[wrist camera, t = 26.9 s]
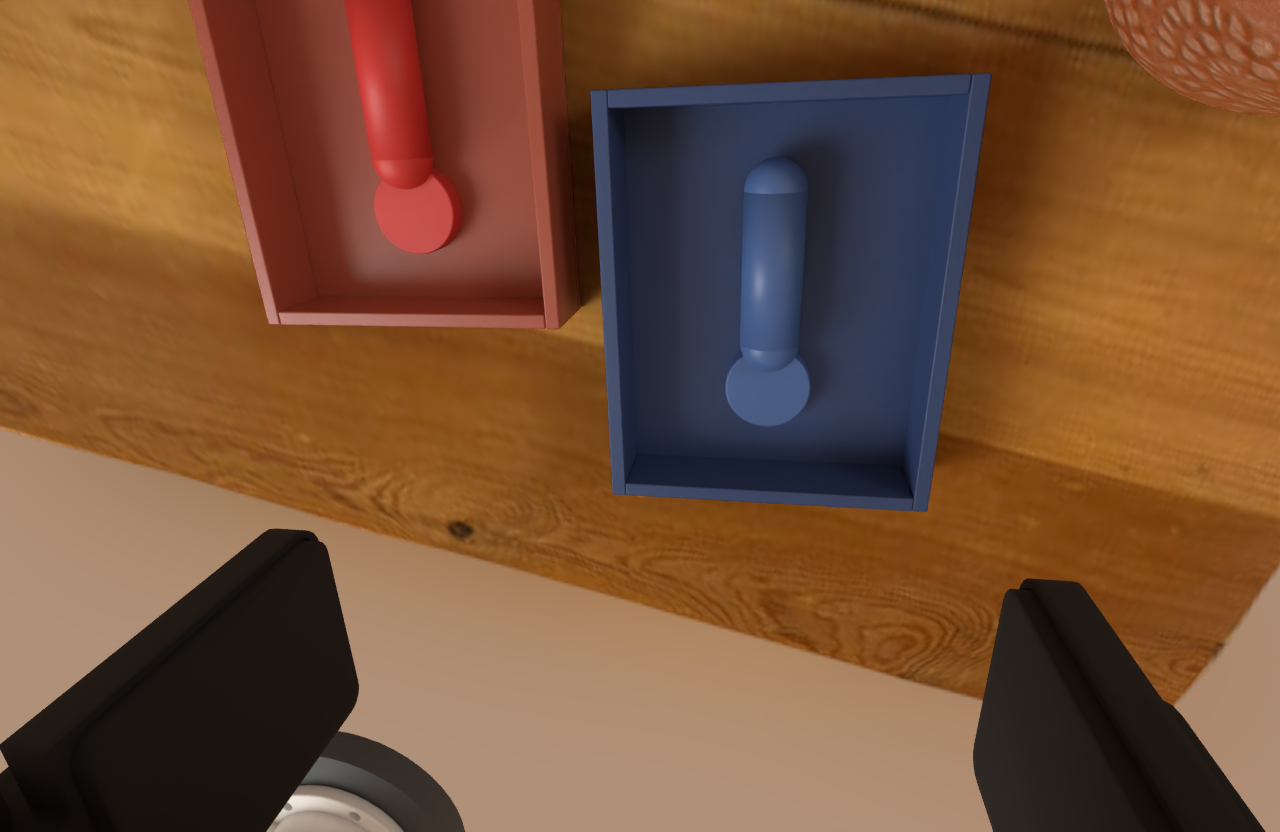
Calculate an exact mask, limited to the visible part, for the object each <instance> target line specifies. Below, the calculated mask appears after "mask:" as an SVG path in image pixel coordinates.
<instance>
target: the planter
mask: <svg viewBox="0 0 1280 832" xmlns="http://www.w3.org/2000/svg"><path fill="white" fill-rule="evenodd" d="M1104 4H1105V7H1106V10H1107V13H1108V16H1109V18H1110V21H1111V23H1112V25H1113V28H1114V30H1115V32H1116V33H1117V35H1118V37H1119V39H1120V40H1121V42H1122V43H1123V45H1124V46H1125V48H1126V49H1127V51H1128V52H1129V53H1130V55H1131V56H1132V57H1133V58H1134V59H1135V61H1136V62H1137V63H1138V64H1139V65H1140V66H1141V67H1142V68H1143V69H1144V70H1145V71H1146V72H1147V73H1148V74H1150V75H1151V76H1152V77H1153V78H1155V79H1156V80H1157V81H1159V82H1160V83H1162V84H1163V85H1165V86H1166V87H1168V88H1170V89H1171V90H1173V91H1175V92H1177V93H1178V94H1180V95H1183V96H1185V97H1187V98H1189V99H1191V100H1194V101H1196V102H1199V103H1202V104H1205V105H1209V106H1213V107H1217V108H1221V109H1225V110H1230V111H1234V112H1239V113H1244V114H1250V115H1256V116H1267V117H1280V0H1104Z"/></svg>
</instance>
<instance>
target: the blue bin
mask: <svg viewBox="0 0 1280 832" xmlns="http://www.w3.org/2000/svg"><path fill="white" fill-rule="evenodd" d="M991 77H992V74H991V73H990V72H989V73H973V74H970V73H967V74H944V75H922V76H900V77H877V78H855V79H832V80H810V81H787V82H765V83H743V84H720V85H698V86H675V87H653V88H631V89H609V90H591V92H590V94H591V112H592V130H593V148H594V166H595V185H596V203H597V221H598V239H599V257H600V275H601V293H602V311H603V330H604V348H605V366H606V384H607V402H608V420H609V438H610V456H611V475H612V493H613V494H617V495H637V496H655V497H672V498H690V499H707V500H725V501H742V502H760V503H777V504H795V505H812V506H830V507H847V508H865V509H882V510H900V511H917V512H927V510H928V503H929V497H930V490H931V483H932V476H933V470H934V463H935V456H936V449H937V442H938V436H939V429H940V422H941V415H942V409H943V402H944V395H945V388H946V382H947V375H948V368H949V361H950V354H951V348H952V341H953V334H954V327H955V321H956V314H957V307H958V300H959V293H960V287H961V280H962V273H963V266H964V260H965V253H966V246H967V239H968V233H969V226H970V219H971V212H972V205H973V199H974V192H975V185H976V178H977V172H978V165H979V158H980V151H981V144H982V138H983V131H984V124H985V117H986V111H987V104H988V97H989V90H990V84H991ZM771 157H784V158H788V159H790V160H792V161H794V162H796V163H797V164H798V165H799V166H800V167H801V168H802V170H803V171H804V173H805V175H806V177H807V181H808V202H807V219H806V236H805V253H804V270H803V287H802V304H801V321H800V338H799V348H798V352H797V353H798V354H799V355H800V356H801V357H802V359H803V360H804V362H805V364H806V366H807V368H808V371H809V377H810V383H811V390H810V396H809V399H808V402H807V404H806V406H805V407H804V409H803V410H802V411H801V412H800V413H799V414H798V415H797V416H796V417H795V418H793V419H792V420H790V421H788V422H786V423H784V424H781V425H777V426H758V425H754V424H751V423H749V422H747V421H745V420H744V419H742V418H741V417H739V416H738V415H737V414H736V413H735V412H734V411H733V409H732V408H731V406H730V404H729V402H728V400H727V397H726V392H725V383H726V377H727V372H728V369H729V366H730V364H731V362H732V361H733V359H734V358H735V357H736V356H737V355H738V354H739V353H740V352H741V348H740V323H741V282H742V241H743V200H744V185H745V181H746V178H747V176H748V175H749V173H750V171H751V170H752V169H753V168H754V167H755V166H756V165H757V164H758V163H760V162H761V161H763V160H765V159H768V158H771Z"/></svg>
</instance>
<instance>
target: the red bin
mask: <svg viewBox="0 0 1280 832" xmlns="http://www.w3.org/2000/svg"><path fill="white" fill-rule="evenodd" d="M188 1H189V5H190V9H191V13H192V17H193V21H194V25H195V29H196V33H197V37H198V41H199V45H200V49H201V53H202V57H203V61H204V65H205V69H206V73H207V77H208V81H209V85H210V89H211V93H212V97H213V102H214V106H215V110H216V114H217V118H218V122H219V126H220V130H221V134H222V138H223V142H224V146H225V150H226V154H227V158H228V162H229V166H230V170H231V174H232V178H233V182H234V186H235V190H236V194H237V198H238V202H239V206H240V210H241V214H242V218H243V222H244V226H245V231H246V235H247V239H248V243H249V247H250V251H251V255H252V259H253V263H254V267H255V271H256V275H257V279H258V283H259V287H260V291H261V295H262V299H263V303H264V307H265V311H266V315H267V319H268V323H269V324H271V325H280V324H282V325H334V326H397V327H460V328H522V329H545V328H547V329H560V328H561V327H562V326H563V325H564V324H565V323H566V322H567V321H568V320H569V319H570V318H571V317H572V316H573V315H574V314H575V313H576V312H577V311H578V310H579V309H580V308H581V302H580V287H579V273H578V258H577V243H576V228H575V213H574V198H573V184H572V169H571V154H570V139H569V124H568V109H567V94H566V80H565V65H564V50H563V35H562V20H561V5H560V0H411V4H412V11H413V18H414V25H415V32H416V40H417V47H418V54H419V61H420V68H421V75H422V83H423V90H424V97H425V104H426V111H427V118H428V125H429V133H430V140H431V147H432V154H433V168H434V169H436V170H438V171H439V172H441V173H442V174H443V175H444V176H446V177H447V178H448V179H449V181H450V182H451V183H452V184H453V186H454V187H455V189H456V191H457V193H458V195H459V197H460V201H461V205H462V213H463V214H462V224H461V227H460V230H459V232H458V234H457V236H456V237H455V239H454V240H453V241H452V242H451V243H450V244H449V245H447V246H445V247H444V248H441V249H439V250H436V251H434V252H431V253H427V254H413V253H409V252H406V251H404V250H402V249H400V248H398V247H397V246H395V245H394V244H393V243H392V242H391V241H390V240H389V239H388V238H387V237H386V236H385V235H384V233H383V232H382V230H381V229H380V227H379V224H378V222H377V219H376V216H375V211H374V196H375V192H376V189H377V186H378V184H379V182H380V181H381V178H380V177H379V176H378V174H377V173H376V171H375V169H374V167H373V164H372V160H371V155H370V149H369V143H368V137H367V132H366V126H365V120H364V114H363V108H362V103H361V97H360V91H359V85H358V79H357V74H356V68H355V62H354V56H353V50H352V45H351V39H350V33H349V27H348V21H347V16H346V10H345V4H344V0H188Z"/></svg>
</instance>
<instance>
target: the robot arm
mask: <svg viewBox="0 0 1280 832" xmlns="http://www.w3.org/2000/svg"><path fill="white" fill-rule="evenodd" d="M358 692H359V684H358V679H357V675H356V670H355V666H354V661H353V657H352V653H351V649H350V644H349V640H348V636H347V632H346V628H345V623H344V618H343V614H342V610H341V606H340V601H339V597H338V593H337V588H336V585H335V580H334V575H333V571H332V567H331V562H330V558H329V554H328V550H327V548H326V546H325V545H324V543H322V542H320V541H318V538H317V537H316V536H315V534H314V533H312V532H310V531H305V530H288V529H269V530H267V531H266V532H264V533H263V534H261V535H260V536H259V537H258V538H257V539H255V540H254V541H253V542H251V543H250V544H249V545H248V546H246V547H245V548H244V549H243V550H241V551H240V552H239V553H238V554H237V555H235V556H234V557H233V558H231V559H230V560H229V561H228V562H226V563H225V564H224V565H223V566H222V567H220V568H219V569H218V570H216V572H214V573H213V574H211V575H210V576H209V577H208V578H207V579H205V580H204V581H203V582H202V583H200V584H199V585H198V586H197V587H195V588H194V589H193V590H192V591H190V592H189V593H188V594H187V595H185V596H184V597H183V598H182V599H180V600H179V601H178V602H177V603H175V604H174V605H173V606H172V607H171V608H169V609H168V610H167V611H166V612H164V613H163V614H162V615H161V616H159V617H158V618H157V619H155V620H154V621H153V622H152V623H151V624H149V625H148V626H147V627H146V628H145V629H143V630H142V631H141V632H139V633H138V634H137V635H136V636H134V637H133V638H132V639H131V640H129V641H128V642H127V643H126V644H125V645H123V646H122V647H121V648H119V649H118V650H117V651H116V652H115V653H113V654H112V655H111V656H109V657H108V658H107V659H106V660H104V661H103V662H102V663H101V664H99V665H98V666H97V667H96V668H95V669H93V670H92V671H91V672H90V673H88V674H87V675H86V676H85V677H83V678H82V679H81V680H80V681H78V682H77V683H76V684H75V685H74V686H72V687H71V688H70V689H68V690H67V691H66V692H65V693H63V694H62V695H61V696H60V697H58V698H57V699H56V700H55V701H53V702H52V703H51V704H50V705H48V706H47V707H46V708H45V709H43V710H42V711H41V712H40V713H39V714H37V715H36V716H35V717H34V718H33V719H31V720H30V721H29V722H27V723H26V724H25V725H24V726H22V727H21V728H20V729H19V730H17V731H16V732H15V733H14V734H12V735H11V736H10V737H9V738H7V739H6V740H5V741H4V742H2V743H1V744H0V750H1V752H2V754H3V756H4V758H5V760H6V762H7V764H8V766H9V767H8V768H6V769H5V770H4V771H3V772H2V773H0V832H404V831H403V829H402V828H401V827H400V826H399V825H398V824H397V823H396V822H395V820H394V819H392V818H391V817H390V816H389V815H388V814H386V813H385V812H384V811H383V810H382V809H380V808H379V807H377V806H376V805H374V804H372V803H371V802H369V801H368V800H366V799H363V798H361V797H359V796H357V795H355V794H353V793H350V792H347V791H344V790H341V789H338V788H334V787H329V786H324V785H301V786H299V785H300V784H301V782H302V781H303V779H304V778H305V777H306V775H307V774H308V772H309V771H310V769H311V768H312V767H313V765H314V764H315V762H316V761H317V760H318V758H319V757H320V755H321V754H322V753H323V751H324V750H325V748H326V747H327V745H328V744H329V743H330V741H331V740H332V738H333V737H334V736H335V734H336V733H337V731H338V730H339V729H340V727H341V726H342V724H343V723H344V721H345V720H346V719H347V717H348V716H349V714H350V713H351V712H352V710H353V708H354V706H355V704H356V701H357V697H358ZM973 762H974V763H973V764H974V771H975V776H976V780H977V783H978V786H979V790H980V793H981V795H982V799H983V802H984V805H985V808H986V811H987V814H988V817H989V820H990V823H991V826H992V829H993V832H1265V830H1264V829H1263V828H1262V826H1261V825H1260V823H1259V822H1258V821H1257V819H1256V818H1255V816H1254V815H1253V814H1252V812H1251V811H1250V809H1249V808H1248V807H1247V805H1246V804H1245V803H1244V801H1243V800H1242V798H1241V797H1240V795H1239V794H1238V793H1237V791H1236V790H1235V789H1234V787H1233V786H1232V784H1231V783H1230V782H1229V780H1228V779H1227V777H1226V776H1225V775H1224V773H1223V772H1222V770H1221V769H1220V768H1219V766H1218V765H1217V763H1216V762H1215V761H1214V759H1213V758H1212V757H1211V755H1210V754H1209V753H1208V751H1207V749H1206V748H1205V747H1204V745H1203V744H1202V743H1201V741H1200V740H1199V739H1198V737H1197V736H1196V734H1195V733H1194V732H1193V730H1192V729H1191V728H1190V726H1189V724H1188V723H1187V722H1186V720H1185V719H1184V718H1183V716H1182V715H1181V714H1180V713H1179V712H1178V711H1177V710H1176V709H1175V708H1174V706H1172V705H1171V704H1169V703H1167V702H1165V701H1163V700H1162V699H1161V697H1160V696H1159V694H1158V693H1157V691H1156V690H1155V689H1154V687H1153V686H1152V684H1151V683H1150V681H1149V680H1148V679H1147V677H1146V676H1145V674H1144V673H1143V672H1142V670H1141V669H1140V667H1139V666H1138V664H1137V663H1136V662H1135V660H1134V659H1133V657H1132V656H1131V654H1130V653H1129V652H1128V650H1127V649H1126V647H1125V646H1124V645H1123V643H1122V642H1121V640H1120V639H1119V637H1118V636H1117V635H1116V633H1115V632H1114V630H1113V629H1112V627H1111V626H1110V625H1109V623H1108V622H1107V620H1106V619H1105V617H1104V616H1103V615H1102V613H1101V612H1100V610H1099V609H1098V608H1097V606H1096V605H1095V603H1094V602H1093V600H1092V599H1091V598H1090V596H1089V595H1088V593H1087V592H1086V590H1085V589H1084V588H1083V587H1082V586H1081V585H1080V584H1079V583H1077V582H1074V581H1058V580H1043V579H1026V580H1024V581H1023V582H1022V584H1021V585H1020V589H1019V590H1017V589H1009V590H1007V592H1006V593H1005V596H1004V599H1003V604H1002V609H1001V614H1000V619H999V624H998V629H997V634H996V639H995V644H994V649H993V654H992V659H991V664H990V669H989V674H988V679H987V684H986V689H985V694H984V698H983V703H982V709H981V713H980V719H979V723H978V728H977V733H976V738H975V743H974V750H973Z"/></svg>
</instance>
